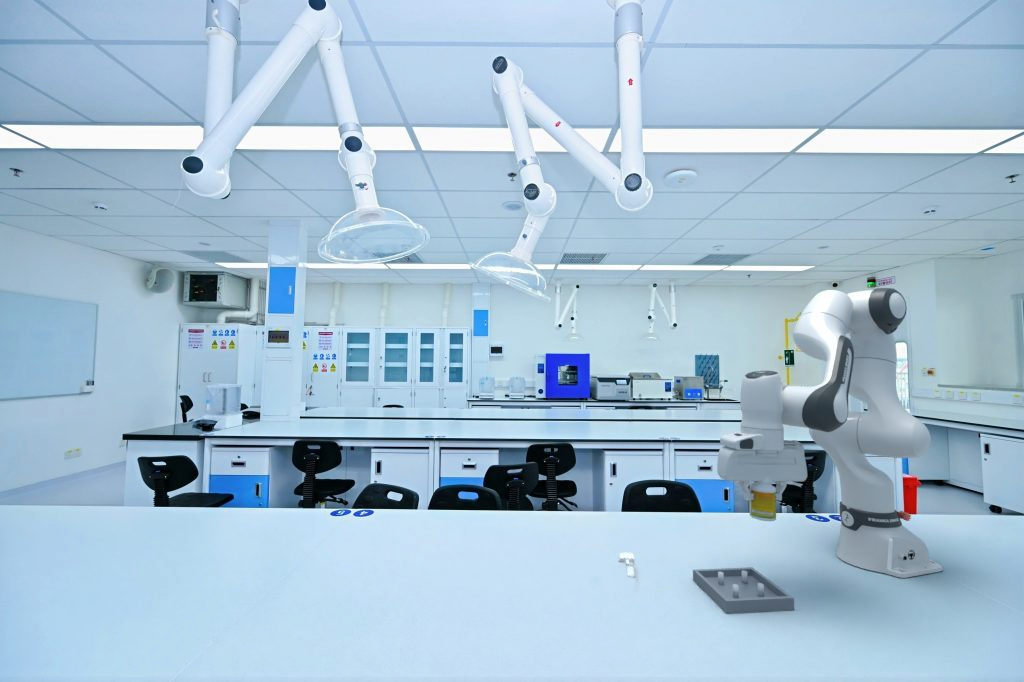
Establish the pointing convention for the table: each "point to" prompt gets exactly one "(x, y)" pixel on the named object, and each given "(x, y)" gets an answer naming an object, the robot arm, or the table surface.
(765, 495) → the supplement bottle
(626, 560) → the syringe
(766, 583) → the pin tray
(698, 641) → the table surface
